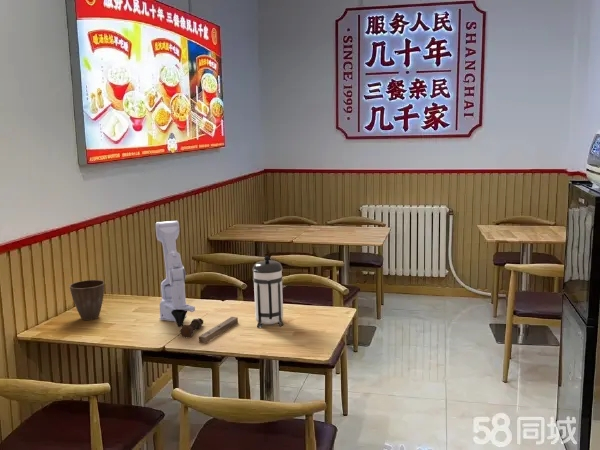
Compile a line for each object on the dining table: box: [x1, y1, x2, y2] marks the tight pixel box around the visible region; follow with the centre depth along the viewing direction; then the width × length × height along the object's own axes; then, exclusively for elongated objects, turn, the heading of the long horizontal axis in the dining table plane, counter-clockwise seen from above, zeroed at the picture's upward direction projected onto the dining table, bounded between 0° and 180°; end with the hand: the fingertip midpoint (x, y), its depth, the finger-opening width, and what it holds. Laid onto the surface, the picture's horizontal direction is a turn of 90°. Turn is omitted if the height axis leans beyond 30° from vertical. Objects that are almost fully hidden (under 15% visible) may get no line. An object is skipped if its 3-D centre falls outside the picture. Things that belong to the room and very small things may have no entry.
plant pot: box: [69, 279, 105, 321], centre depth 267 cm, size 15×15×16 cm
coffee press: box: [252, 255, 285, 329], centre depth 250 cm, size 17×16×30 cm
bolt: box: [179, 317, 204, 339], centre depth 246 cm, size 6×5×15 cm
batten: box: [198, 316, 239, 344], centre depth 244 cm, size 3×26×3 cm, turn 157°
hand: (180, 326), depth 250 cm, fingers closed
